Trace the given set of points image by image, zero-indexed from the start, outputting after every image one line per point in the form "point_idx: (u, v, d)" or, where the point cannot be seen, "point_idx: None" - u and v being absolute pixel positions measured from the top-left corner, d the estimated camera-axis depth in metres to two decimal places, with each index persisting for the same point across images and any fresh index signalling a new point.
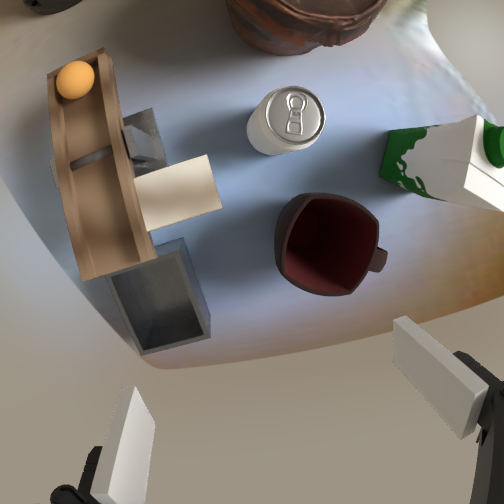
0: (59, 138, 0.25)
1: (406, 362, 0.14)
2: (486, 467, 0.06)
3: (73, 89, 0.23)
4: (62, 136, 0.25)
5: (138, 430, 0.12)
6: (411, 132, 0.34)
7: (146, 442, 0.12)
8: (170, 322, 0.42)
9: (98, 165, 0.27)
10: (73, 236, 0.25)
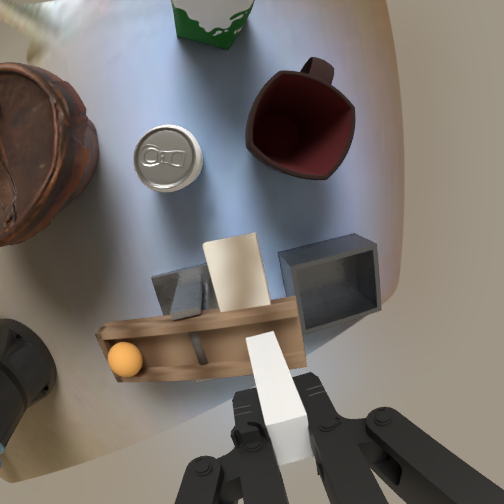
0: (177, 374, 0.32)
1: None
2: None
3: (134, 363, 0.31)
4: (176, 370, 0.33)
5: None
6: (179, 20, 0.27)
7: None
8: (356, 272, 0.44)
9: (205, 340, 0.33)
10: None
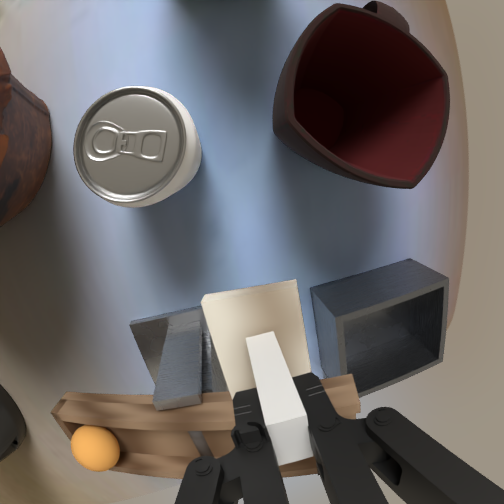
0: (170, 471, 0.19)
1: None
2: None
3: (107, 458, 0.18)
4: (167, 464, 0.20)
5: None
6: None
7: None
8: (408, 309, 0.31)
9: (209, 433, 0.19)
10: (301, 473, 0.18)
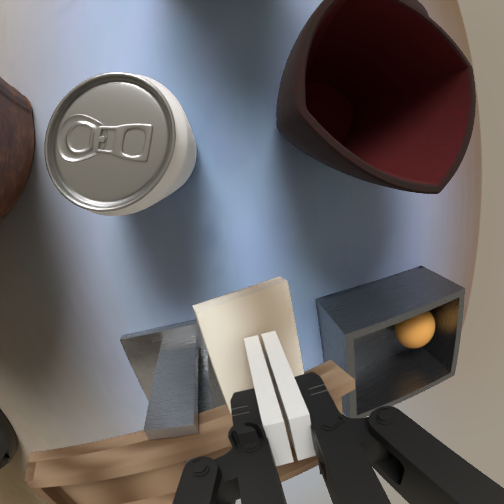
0: None
1: (271, 375, 0.15)
2: None
3: None
4: (168, 503, 0.16)
5: None
6: None
7: None
8: None
9: (206, 456, 0.17)
10: (307, 467, 0.18)
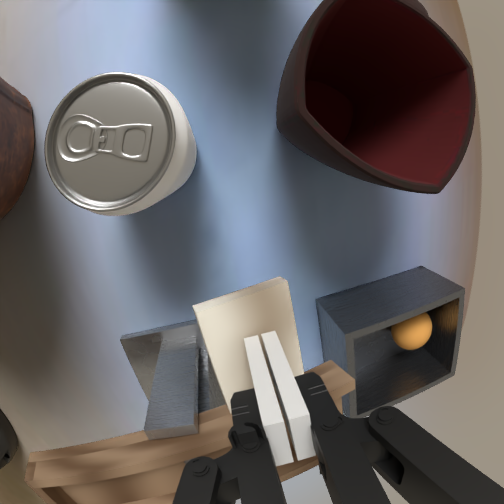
0: None
1: (271, 375, 0.15)
2: None
3: None
4: (168, 503, 0.16)
5: None
6: None
7: None
8: None
9: (206, 456, 0.17)
10: (307, 467, 0.18)
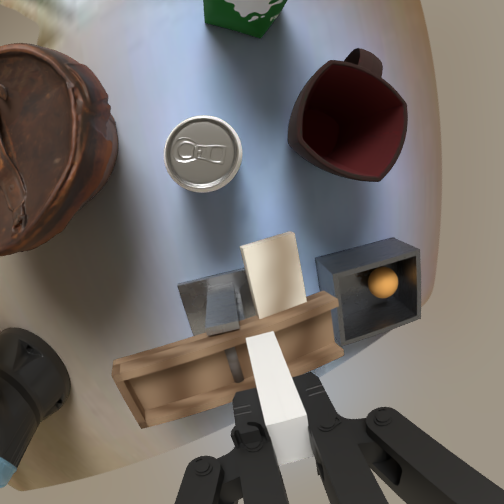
0: (217, 398, 0.28)
1: None
2: None
3: None
4: (212, 396, 0.29)
5: None
6: (211, 3, 0.24)
7: None
8: None
9: (242, 354, 0.30)
10: (310, 368, 0.31)
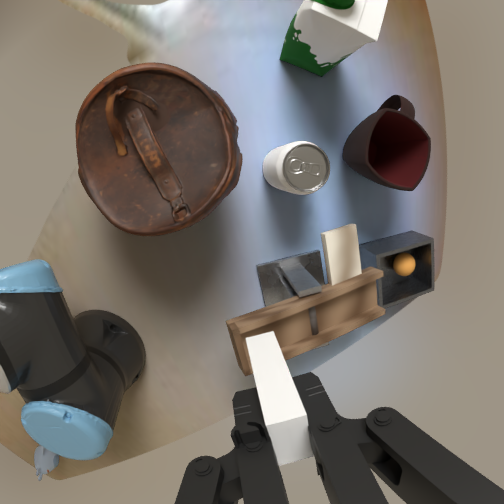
0: (303, 346, 0.40)
1: None
2: None
3: None
4: (298, 345, 0.40)
5: None
6: (296, 50, 0.36)
7: None
8: None
9: (319, 312, 0.41)
10: (364, 322, 0.42)
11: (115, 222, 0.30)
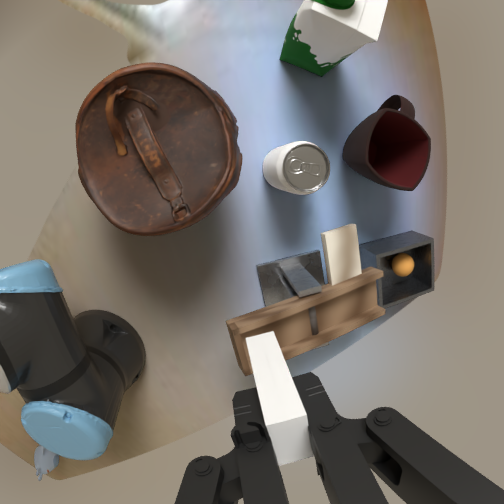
0: (303, 346, 0.40)
1: None
2: None
3: None
4: (298, 345, 0.40)
5: None
6: (296, 50, 0.36)
7: None
8: None
9: (319, 312, 0.41)
10: (364, 322, 0.42)
11: (115, 222, 0.30)
